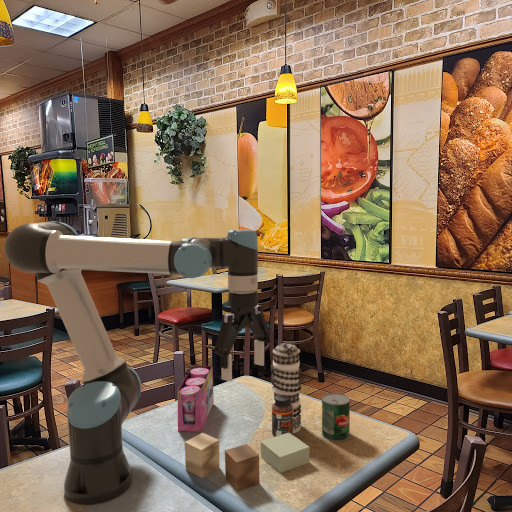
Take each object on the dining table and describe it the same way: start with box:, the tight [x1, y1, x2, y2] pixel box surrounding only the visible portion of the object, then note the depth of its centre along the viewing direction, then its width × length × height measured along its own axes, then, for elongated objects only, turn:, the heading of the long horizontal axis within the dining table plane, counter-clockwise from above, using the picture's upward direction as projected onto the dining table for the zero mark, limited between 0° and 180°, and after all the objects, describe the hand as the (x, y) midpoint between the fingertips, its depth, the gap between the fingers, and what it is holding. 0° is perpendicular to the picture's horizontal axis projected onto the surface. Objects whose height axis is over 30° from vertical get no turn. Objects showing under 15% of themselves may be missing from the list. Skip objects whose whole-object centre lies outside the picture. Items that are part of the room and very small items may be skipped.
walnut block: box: [224, 443, 261, 492], centre depth 110 cm, size 6×6×8 cm
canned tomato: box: [321, 392, 351, 442], centre depth 133 cm, size 8×8×11 cm
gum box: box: [176, 365, 215, 433], centre depth 146 cm, size 22×7×13 cm, turn 175°
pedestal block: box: [260, 432, 310, 474], centre depth 120 cm, size 9×9×5 cm
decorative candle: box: [270, 342, 303, 434], centre depth 137 cm, size 9×9×25 cm
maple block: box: [184, 432, 221, 479], centre depth 116 cm, size 6×6×8 cm
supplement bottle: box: [271, 395, 294, 437], centre depth 132 cm, size 6×6×11 cm
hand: (243, 372), depth 119 cm, fingers open, 13 cm apart
